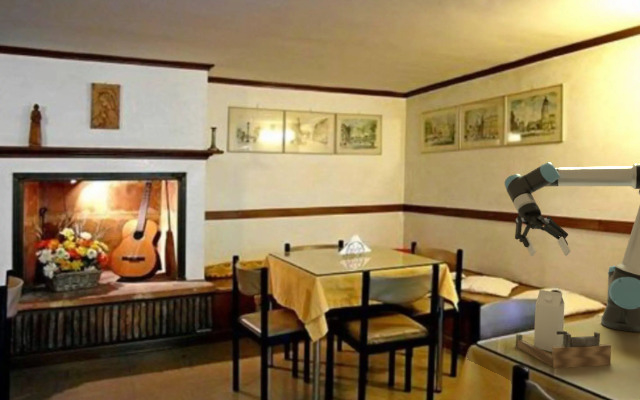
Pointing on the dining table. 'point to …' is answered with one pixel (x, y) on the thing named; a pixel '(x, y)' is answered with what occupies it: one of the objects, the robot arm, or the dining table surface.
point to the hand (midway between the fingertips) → (550, 253)
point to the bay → (571, 351)
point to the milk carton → (548, 320)
